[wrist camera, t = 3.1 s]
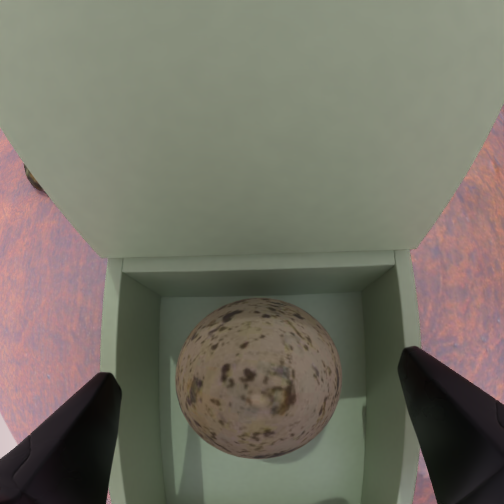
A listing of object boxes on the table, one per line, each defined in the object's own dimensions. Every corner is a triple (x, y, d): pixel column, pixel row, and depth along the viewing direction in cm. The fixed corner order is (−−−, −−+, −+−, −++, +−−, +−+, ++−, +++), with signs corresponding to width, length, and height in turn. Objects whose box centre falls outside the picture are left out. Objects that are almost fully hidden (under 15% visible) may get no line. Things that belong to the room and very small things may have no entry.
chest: (366, 519, 11) (397, 565, 6) (161, 521, 12) (126, 565, 6) (368, 280, 17) (409, 245, 11) (154, 286, 17) (108, 254, 12)
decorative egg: (239, 294, 16) (200, 201, 7) (339, 346, 15) (441, 324, 5) (184, 389, 14) (71, 422, 5) (283, 443, 13) (304, 553, 4)
